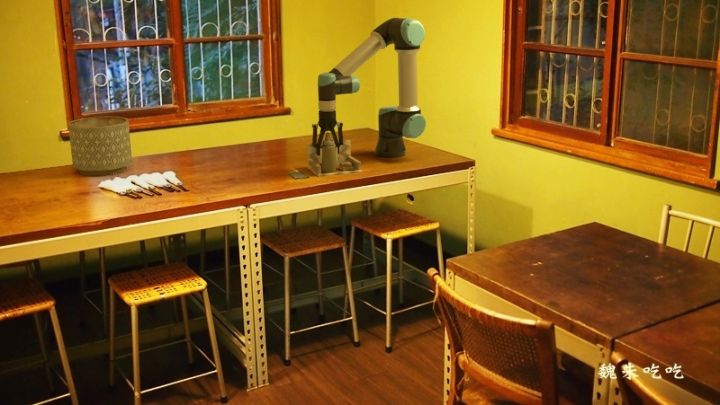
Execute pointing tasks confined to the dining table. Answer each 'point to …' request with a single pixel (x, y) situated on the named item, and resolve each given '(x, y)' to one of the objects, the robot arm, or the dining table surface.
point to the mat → (298, 175)
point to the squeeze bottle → (328, 155)
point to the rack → (342, 157)
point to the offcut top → (345, 164)
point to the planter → (100, 145)
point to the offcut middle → (346, 168)
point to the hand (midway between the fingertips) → (328, 161)
